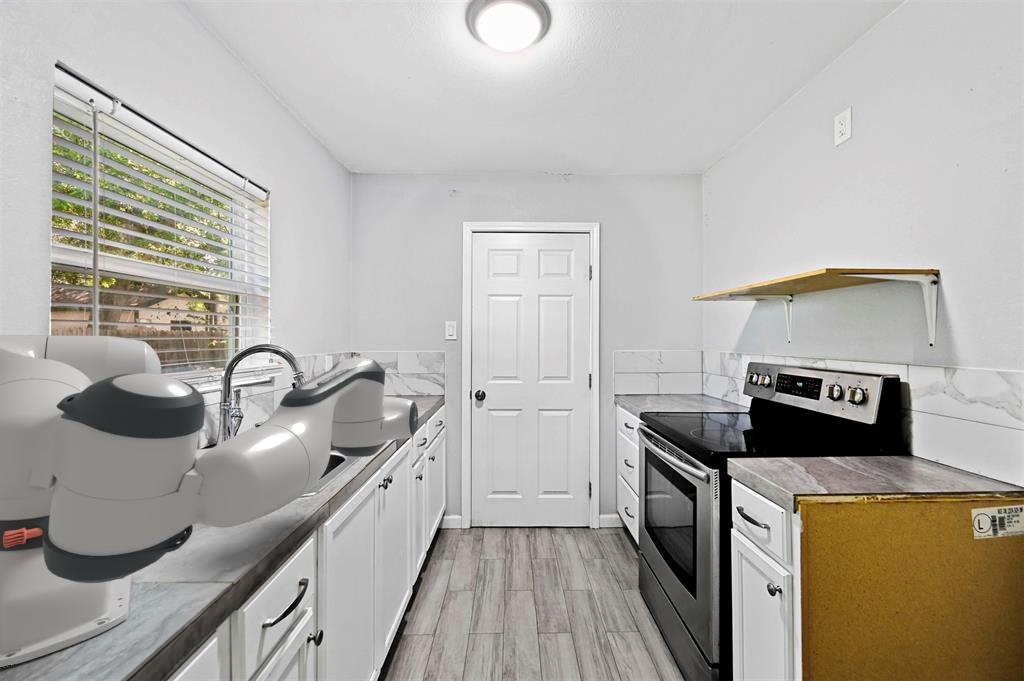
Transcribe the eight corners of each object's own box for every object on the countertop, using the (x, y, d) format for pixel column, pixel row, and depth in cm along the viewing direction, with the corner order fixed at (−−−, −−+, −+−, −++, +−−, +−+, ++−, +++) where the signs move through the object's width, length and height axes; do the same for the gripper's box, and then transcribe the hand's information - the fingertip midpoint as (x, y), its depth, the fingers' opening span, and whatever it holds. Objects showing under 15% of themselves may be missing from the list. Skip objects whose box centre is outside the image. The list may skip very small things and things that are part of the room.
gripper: (315, 441, 86) (252, 438, 89) (370, 423, 106) (318, 421, 109) (314, 408, 86) (252, 406, 89) (370, 396, 106) (318, 395, 109)
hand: (289, 414), depth 99 cm, fingers open, 8 cm apart
